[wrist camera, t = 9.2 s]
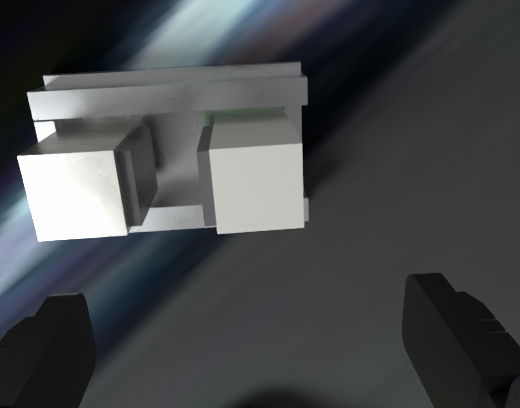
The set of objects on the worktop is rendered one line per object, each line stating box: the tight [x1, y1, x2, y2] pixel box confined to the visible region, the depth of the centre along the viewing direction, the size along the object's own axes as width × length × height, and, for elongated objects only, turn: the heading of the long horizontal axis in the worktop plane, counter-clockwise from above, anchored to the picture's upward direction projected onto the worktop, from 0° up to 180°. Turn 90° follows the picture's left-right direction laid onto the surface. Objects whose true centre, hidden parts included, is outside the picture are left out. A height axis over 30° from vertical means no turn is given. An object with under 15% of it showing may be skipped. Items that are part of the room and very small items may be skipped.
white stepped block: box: [17, 61, 308, 241], centre depth 24 cm, size 14×9×8 cm, turn 93°
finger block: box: [196, 112, 304, 234], centre depth 24 cm, size 5×4×7 cm
